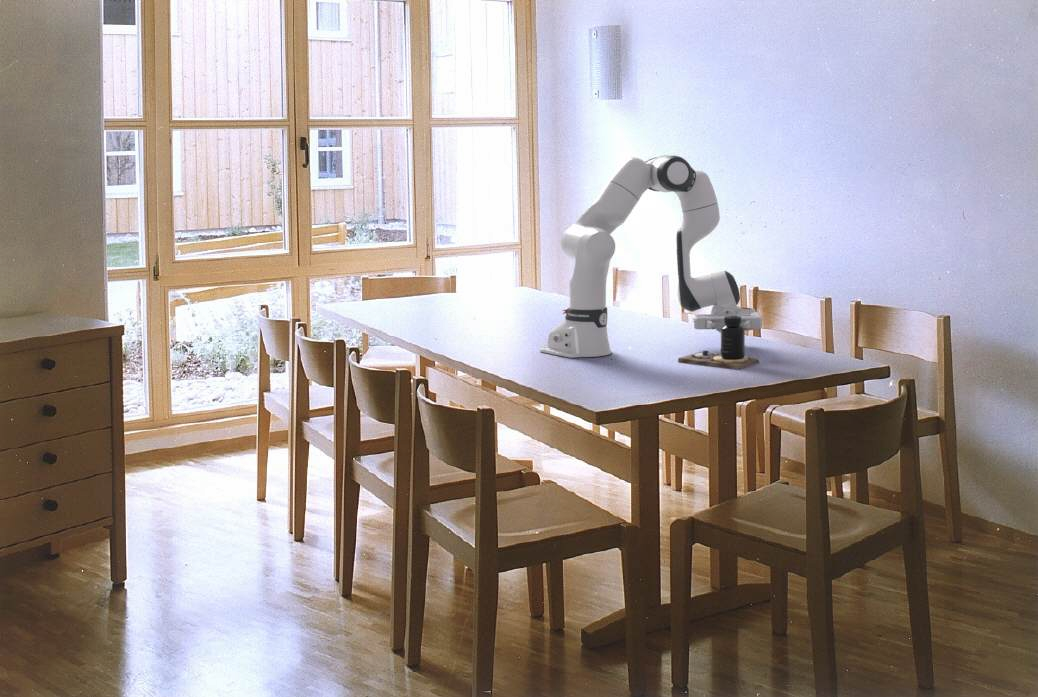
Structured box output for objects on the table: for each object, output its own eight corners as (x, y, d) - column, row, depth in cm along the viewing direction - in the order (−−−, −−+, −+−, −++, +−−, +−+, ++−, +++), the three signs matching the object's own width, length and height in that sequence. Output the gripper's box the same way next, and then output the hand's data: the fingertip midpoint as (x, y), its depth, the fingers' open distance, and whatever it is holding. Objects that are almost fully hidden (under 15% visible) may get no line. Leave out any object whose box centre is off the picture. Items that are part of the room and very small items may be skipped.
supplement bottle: (730, 354, 356) (731, 314, 354) (749, 357, 351) (750, 316, 349) (715, 358, 352) (716, 317, 349) (734, 361, 347) (734, 319, 344)
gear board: (678, 362, 356) (678, 352, 355) (699, 355, 365) (700, 346, 364) (738, 369, 343) (738, 359, 343) (759, 363, 352) (759, 352, 352)
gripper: (692, 308, 372) (693, 315, 358) (760, 308, 369) (764, 315, 356) (692, 329, 373) (693, 336, 359) (759, 329, 370) (763, 336, 357)
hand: (729, 326), depth 358 cm, fingers open, 8 cm apart
